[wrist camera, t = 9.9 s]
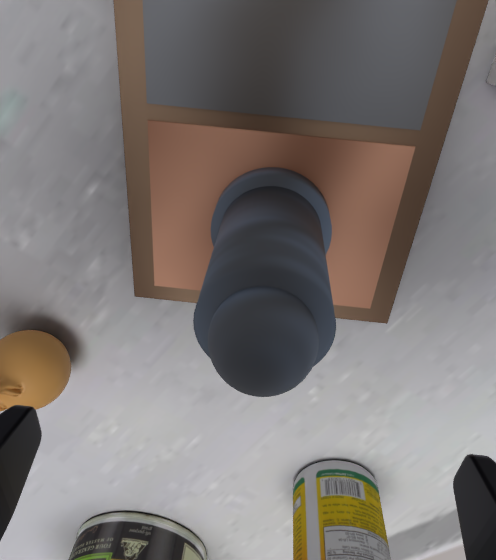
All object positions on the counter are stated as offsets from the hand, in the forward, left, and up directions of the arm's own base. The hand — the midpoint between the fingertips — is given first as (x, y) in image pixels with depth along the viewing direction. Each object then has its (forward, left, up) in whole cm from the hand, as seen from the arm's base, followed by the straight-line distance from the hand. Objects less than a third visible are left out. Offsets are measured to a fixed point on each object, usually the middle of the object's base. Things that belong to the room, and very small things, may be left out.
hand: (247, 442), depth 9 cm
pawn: (0, 0, -11) cm, 11 cm away
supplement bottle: (-6, +18, -12) cm, 22 cm away
